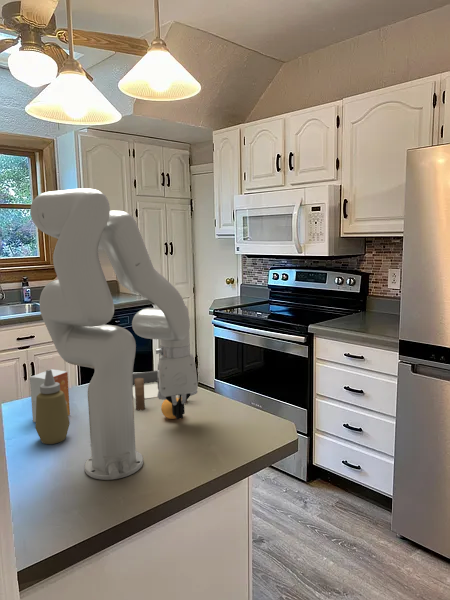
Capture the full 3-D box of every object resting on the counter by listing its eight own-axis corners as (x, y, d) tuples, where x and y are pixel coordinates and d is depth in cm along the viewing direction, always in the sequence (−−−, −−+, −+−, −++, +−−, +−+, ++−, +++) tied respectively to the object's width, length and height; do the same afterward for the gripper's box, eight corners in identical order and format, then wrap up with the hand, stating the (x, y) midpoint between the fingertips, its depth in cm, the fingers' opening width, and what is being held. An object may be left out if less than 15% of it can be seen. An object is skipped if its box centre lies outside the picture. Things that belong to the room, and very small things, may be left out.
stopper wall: (159, 381, 162) (159, 371, 161) (130, 385, 158) (130, 375, 157) (158, 379, 163) (158, 370, 163) (130, 383, 159) (129, 373, 159)
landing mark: (175, 394, 148) (175, 393, 148) (135, 400, 143) (135, 399, 143) (165, 382, 160) (165, 382, 160) (127, 387, 155) (127, 387, 155)
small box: (49, 425, 125) (46, 379, 123) (32, 422, 127) (28, 376, 126) (70, 415, 132) (68, 371, 130) (54, 411, 135) (51, 368, 133)
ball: (185, 401, 126) (180, 392, 131) (164, 403, 124) (159, 394, 129) (185, 421, 127) (179, 411, 132) (163, 423, 125) (159, 414, 130)
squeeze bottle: (43, 450, 110) (37, 377, 108) (31, 439, 116) (26, 370, 114) (75, 440, 116) (71, 370, 113) (63, 430, 122) (58, 364, 119)
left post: (145, 409, 135) (144, 379, 134) (136, 410, 134) (135, 380, 133) (143, 406, 138) (142, 377, 136) (135, 407, 137) (133, 378, 135)
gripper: (150, 358, 115) (154, 427, 118) (207, 351, 120) (209, 417, 123) (144, 350, 122) (148, 416, 125) (198, 344, 127) (201, 407, 130)
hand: (178, 416), depth 124 cm, fingers closed
